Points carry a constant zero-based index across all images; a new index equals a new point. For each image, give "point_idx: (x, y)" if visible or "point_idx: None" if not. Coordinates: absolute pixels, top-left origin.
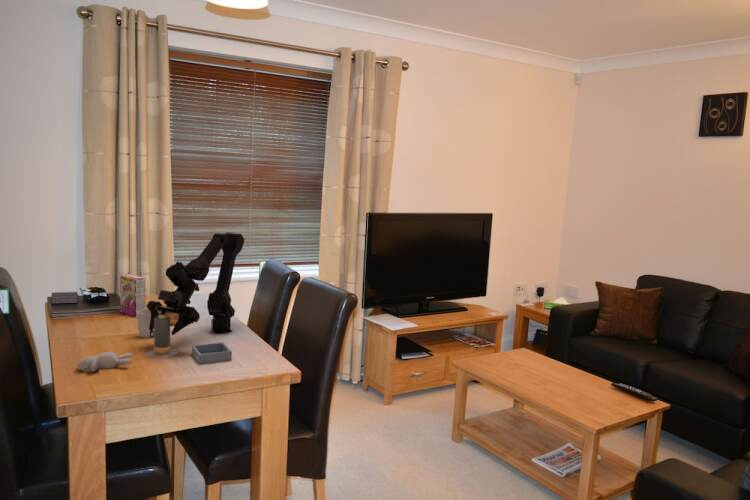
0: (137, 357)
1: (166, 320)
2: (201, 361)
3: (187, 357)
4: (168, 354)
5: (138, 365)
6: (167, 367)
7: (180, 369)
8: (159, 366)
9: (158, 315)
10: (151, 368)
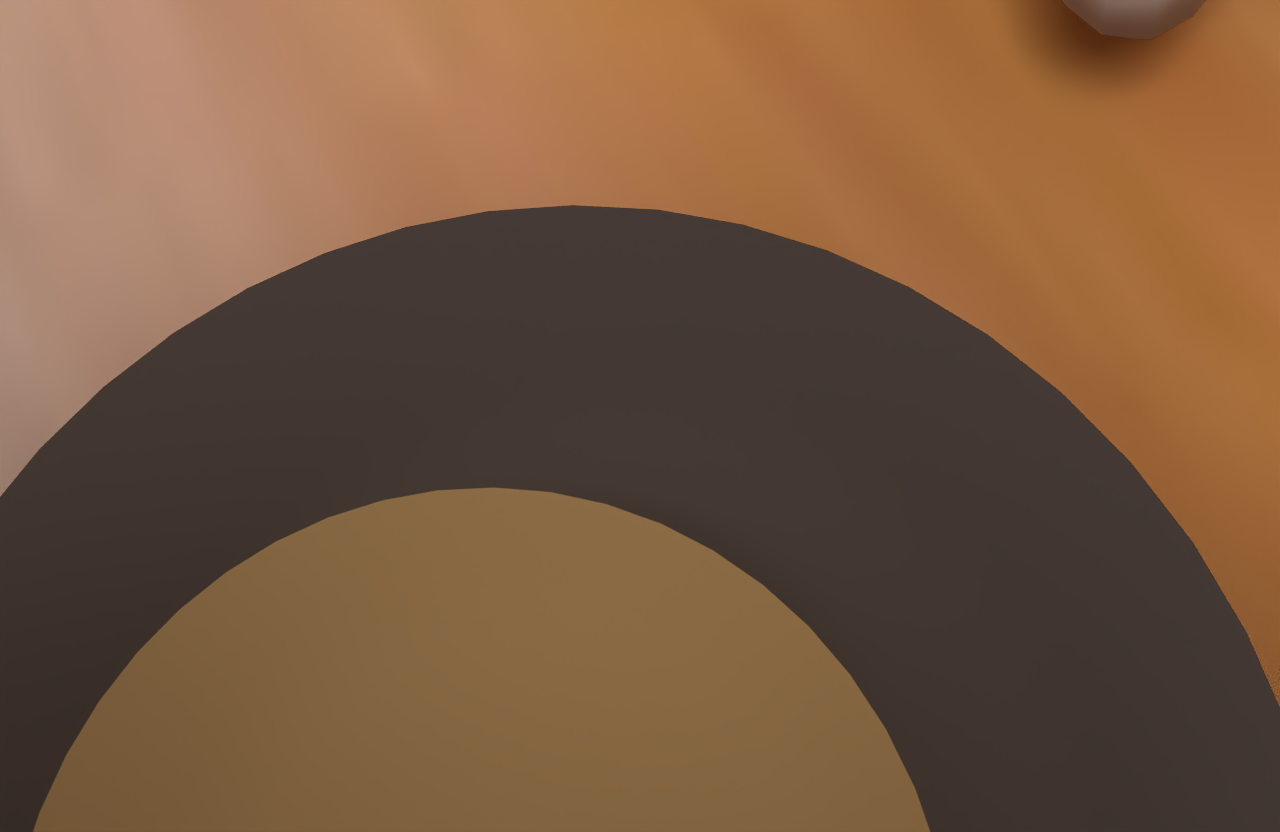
0: (1192, 517)
1: (11, 522)
2: None
3: None
4: None
5: (876, 88)
6: (295, 143)
7: (34, 117)
8: (461, 149)
9: (920, 819)
10: (557, 21)
